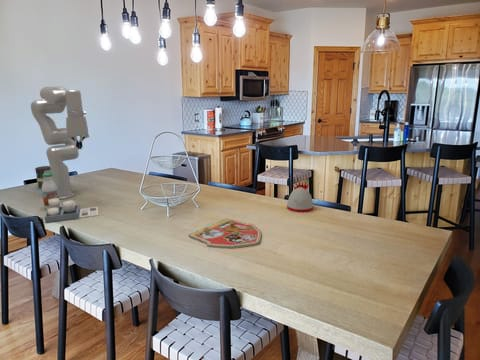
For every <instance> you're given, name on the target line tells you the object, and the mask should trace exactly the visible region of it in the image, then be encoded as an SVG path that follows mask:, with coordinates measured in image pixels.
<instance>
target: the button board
mask: <svg viewBox="0 0 480 360" xmlns="http://www.w3.org/2000/svg"><path fill="white" fill-rule="evenodd" d="M75 205H76V209H73V210H74V211H72V212H66V210H64V206H60V207H59V215H56V216H48V209H49V208H48V209H47V210H46V212H45V215H44V223H45V224H50V223H56V222H63V221H72V220H79V219H80V218H79V216H80V205H79V204H75Z"/></svg>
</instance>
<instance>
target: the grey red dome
mask: <svg viewBox="0 0 480 360" xmlns="http://www.w3.org/2000/svg"><path fill="white" fill-rule="evenodd" d="M309 185H310V184H308V183H307V181H305V182H303V181H301V183H300V181H298V183H297V182H296V183H295V185H294V184H293V185H292V187H293V189H294V190H292V191H291V193H290V195H289V197H288V200H287V204H286V209H287V210H289V211H291V212H293V213H309V212H312V211H314V201H313V198H312V195H311V193H310V192H309V190H308V188H309Z"/></svg>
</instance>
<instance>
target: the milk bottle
mask: <svg viewBox="0 0 480 360" xmlns="http://www.w3.org/2000/svg"><path fill="white" fill-rule="evenodd" d="M43 178H44V181H43V185H42V190H41V194H42V201H43V207H44V210H45V211H47V209H48V208H51V207H49V202H48V200H49V199H53V198H59V196H58V190H57V186H56V184H55V183H54V181H53V179H52V173H44V174H43ZM59 207H61V205H60V206H59Z"/></svg>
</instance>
